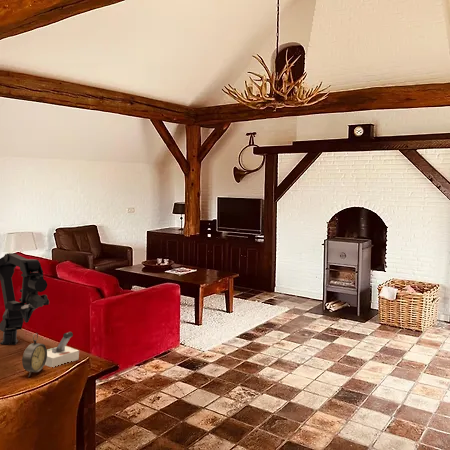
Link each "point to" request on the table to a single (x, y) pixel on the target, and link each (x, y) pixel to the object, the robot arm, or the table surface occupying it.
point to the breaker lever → (64, 341)
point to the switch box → (61, 356)
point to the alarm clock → (34, 357)
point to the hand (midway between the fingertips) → (26, 322)
